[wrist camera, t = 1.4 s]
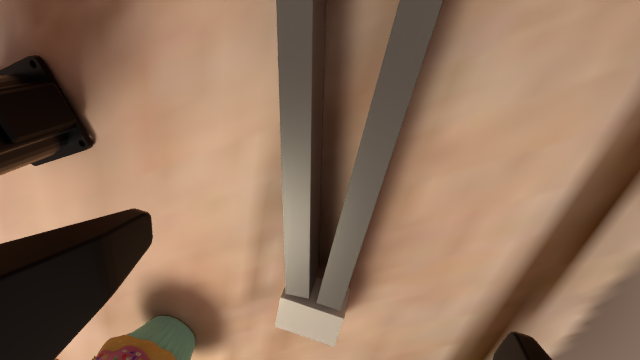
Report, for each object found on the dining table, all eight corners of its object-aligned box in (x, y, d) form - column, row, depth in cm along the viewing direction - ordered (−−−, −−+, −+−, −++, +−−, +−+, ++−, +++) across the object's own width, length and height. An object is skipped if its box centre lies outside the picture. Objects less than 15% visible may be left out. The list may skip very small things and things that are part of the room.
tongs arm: (318, 271, 24) (309, 298, 21) (286, 265, 24) (274, 291, 22) (331, -200, 13) (315, -247, 11) (273, -194, 13) (246, -238, 11)
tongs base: (346, 316, 25) (339, 349, 23) (287, 297, 26) (274, 326, 23) (518, -177, 12) (547, -226, 10) (391, -196, 13) (387, -247, 10)
